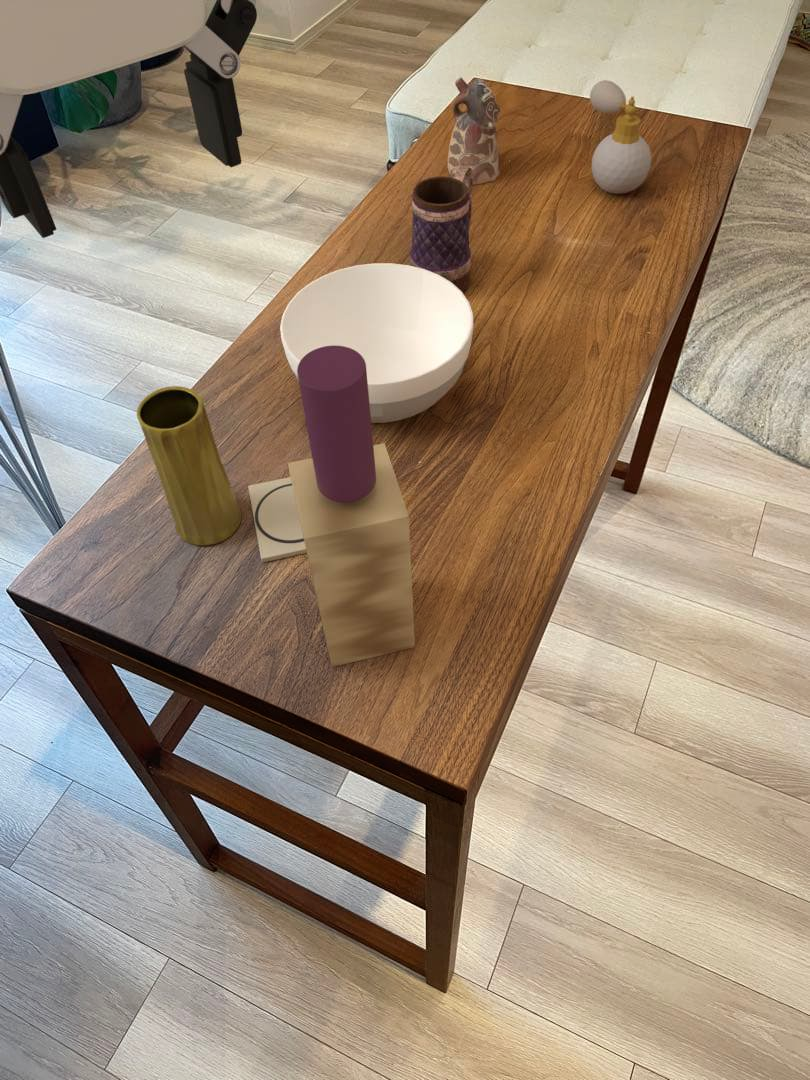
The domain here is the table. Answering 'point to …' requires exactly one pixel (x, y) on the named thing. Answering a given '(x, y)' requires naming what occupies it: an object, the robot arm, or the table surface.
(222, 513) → the vase
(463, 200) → the mug
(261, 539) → the sketch card
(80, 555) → the table surface
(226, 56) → the robot arm
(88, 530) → the table surface
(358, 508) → the stand
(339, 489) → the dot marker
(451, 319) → the bowl
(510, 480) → the table surface
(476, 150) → the figurine
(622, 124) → the perfume bottle
